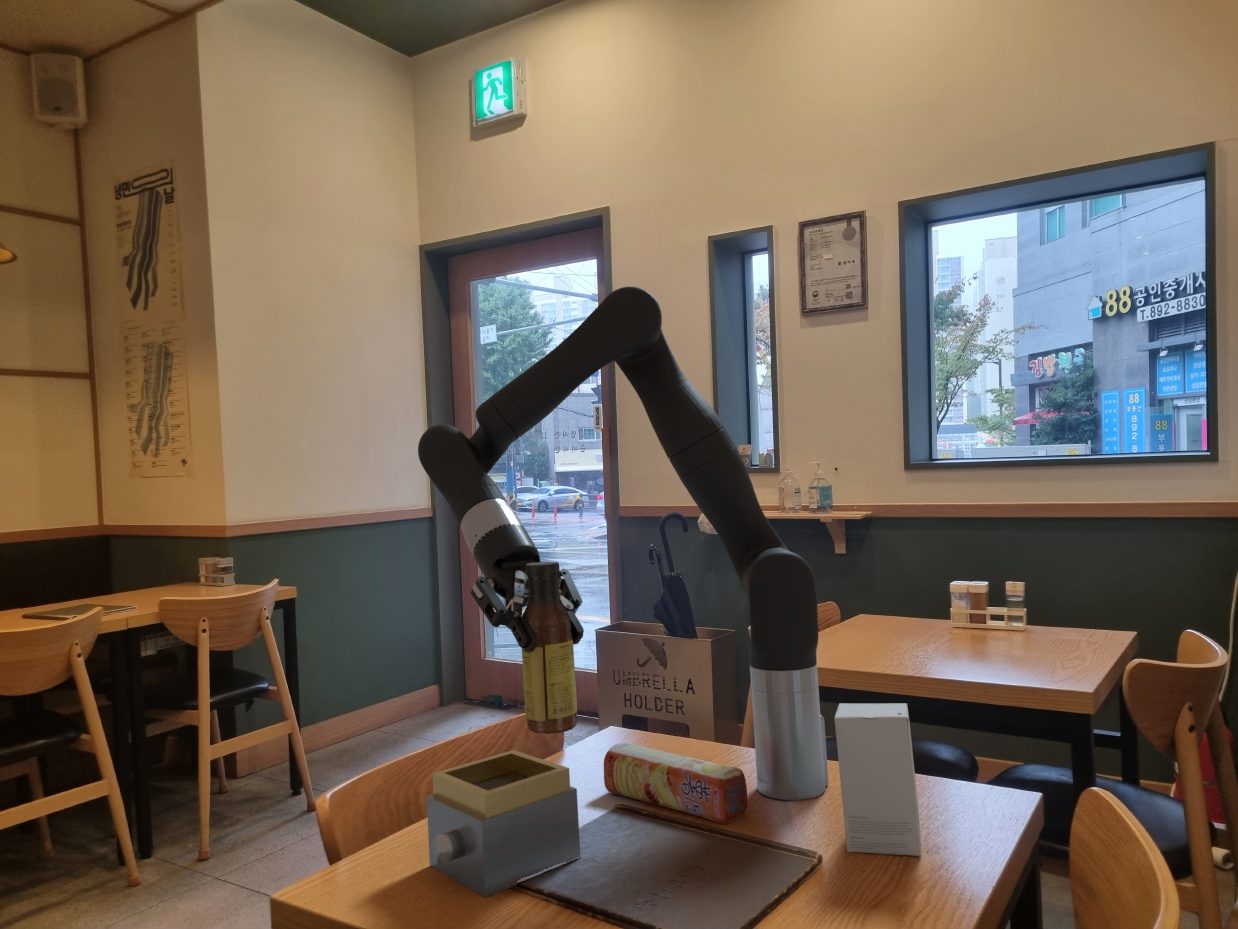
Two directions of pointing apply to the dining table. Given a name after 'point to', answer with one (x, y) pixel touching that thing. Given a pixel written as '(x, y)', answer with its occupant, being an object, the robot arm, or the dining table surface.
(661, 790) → the snack package
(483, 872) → the box
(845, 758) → the skincare box
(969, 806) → the dining table surface
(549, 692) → the sauce bottle
